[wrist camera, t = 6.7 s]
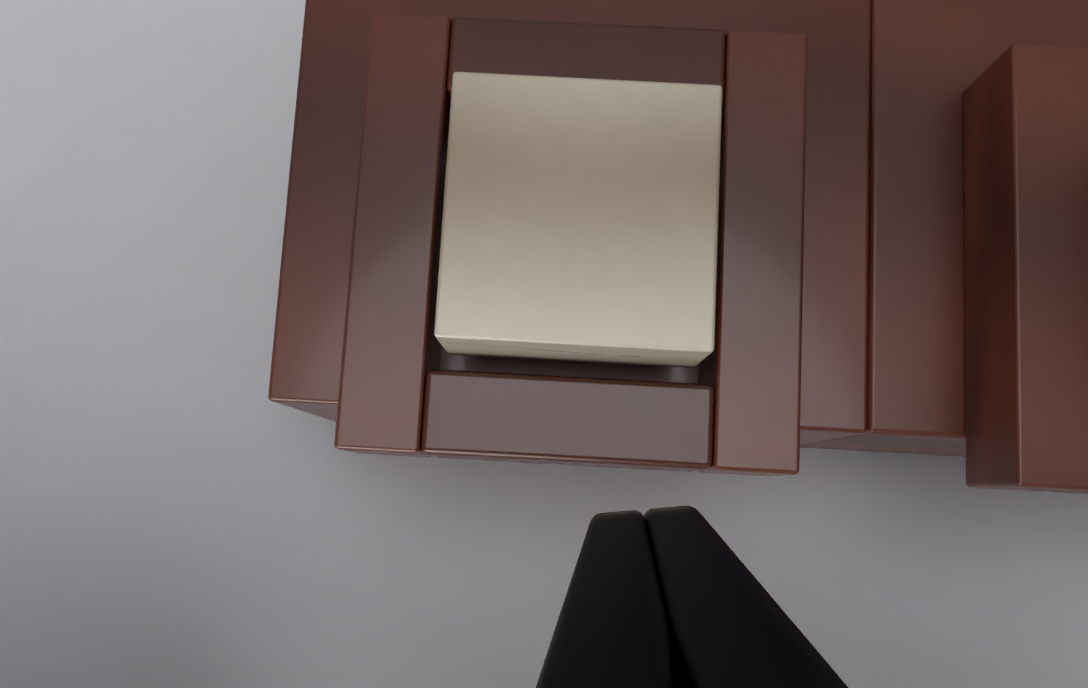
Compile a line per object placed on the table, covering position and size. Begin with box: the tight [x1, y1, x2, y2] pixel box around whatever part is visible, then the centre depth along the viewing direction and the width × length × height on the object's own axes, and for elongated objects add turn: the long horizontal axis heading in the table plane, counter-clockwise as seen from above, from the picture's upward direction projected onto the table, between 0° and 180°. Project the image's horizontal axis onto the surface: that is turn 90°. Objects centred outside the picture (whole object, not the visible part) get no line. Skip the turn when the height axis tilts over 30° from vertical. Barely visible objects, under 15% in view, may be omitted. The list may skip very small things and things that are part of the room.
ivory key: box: [434, 72, 722, 368], centre depth 14 cm, size 4×4×2 cm
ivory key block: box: [268, 0, 871, 476], centre depth 18 cm, size 10×10×7 cm
